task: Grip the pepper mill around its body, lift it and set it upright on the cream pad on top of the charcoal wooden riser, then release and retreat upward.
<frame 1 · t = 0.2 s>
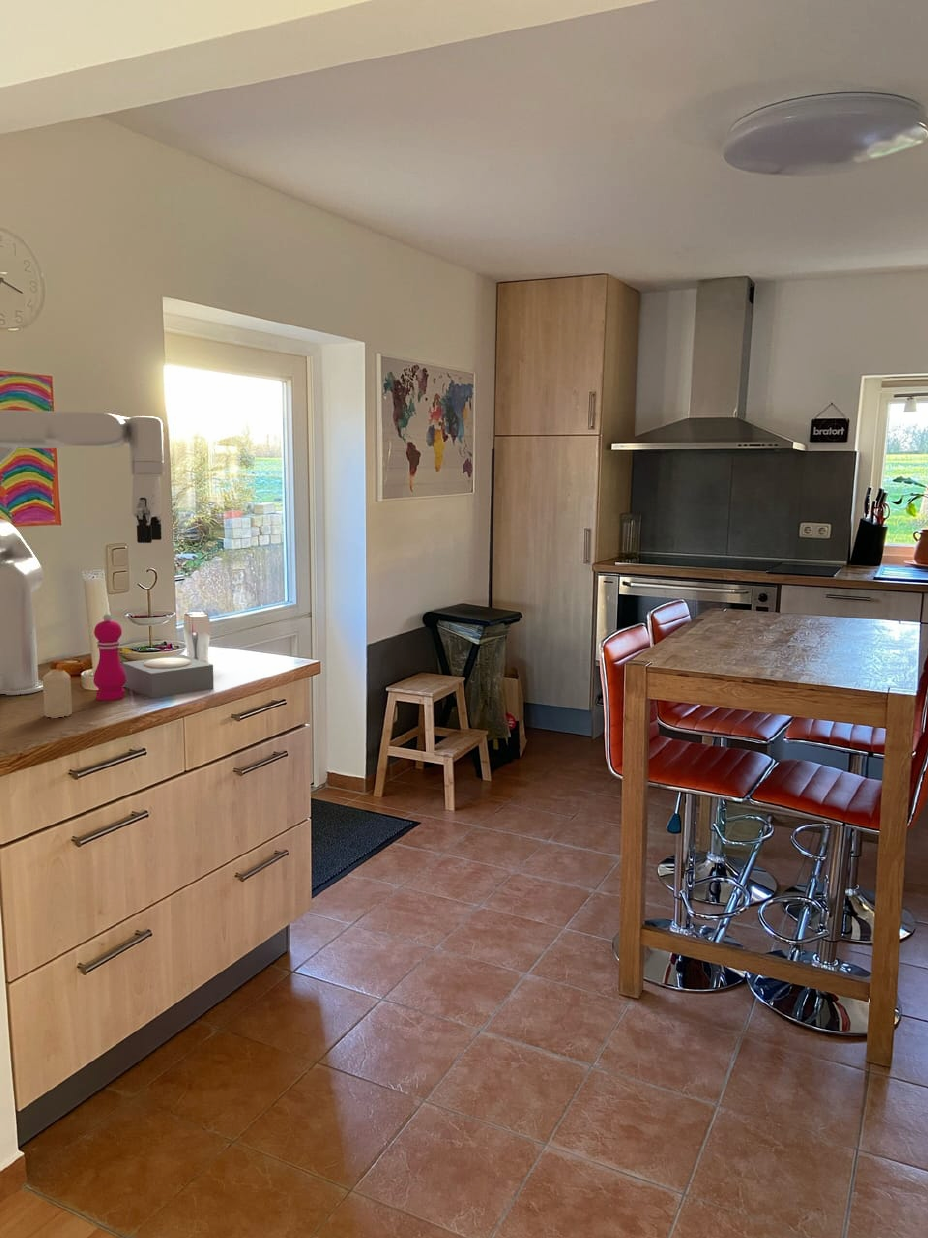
hand: (149, 541, 217), 36 cm above the worktop, tool pointing down, fingers open, 9 cm apart
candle: (58, 716, 197), on the worktop
pepper mill: (110, 698, 213), on the worktop
beer glass: (197, 669, 246), on the worktop
riser: (168, 687, 224), on the worktop
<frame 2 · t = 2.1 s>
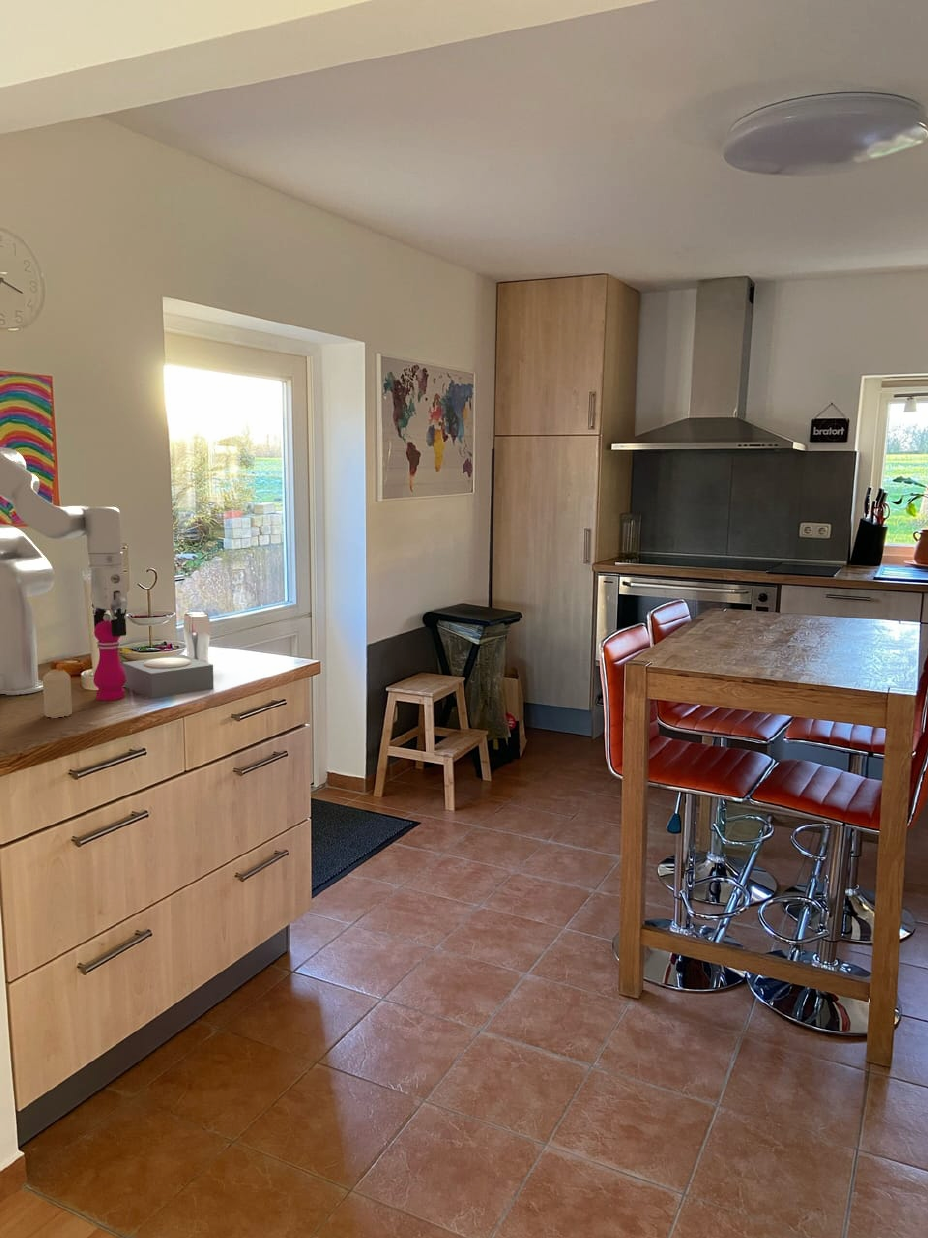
hand: (110, 633, 211), 15 cm above the worktop, tool pointing down, fingers open, 9 cm apart
nothing on the worktop moved.
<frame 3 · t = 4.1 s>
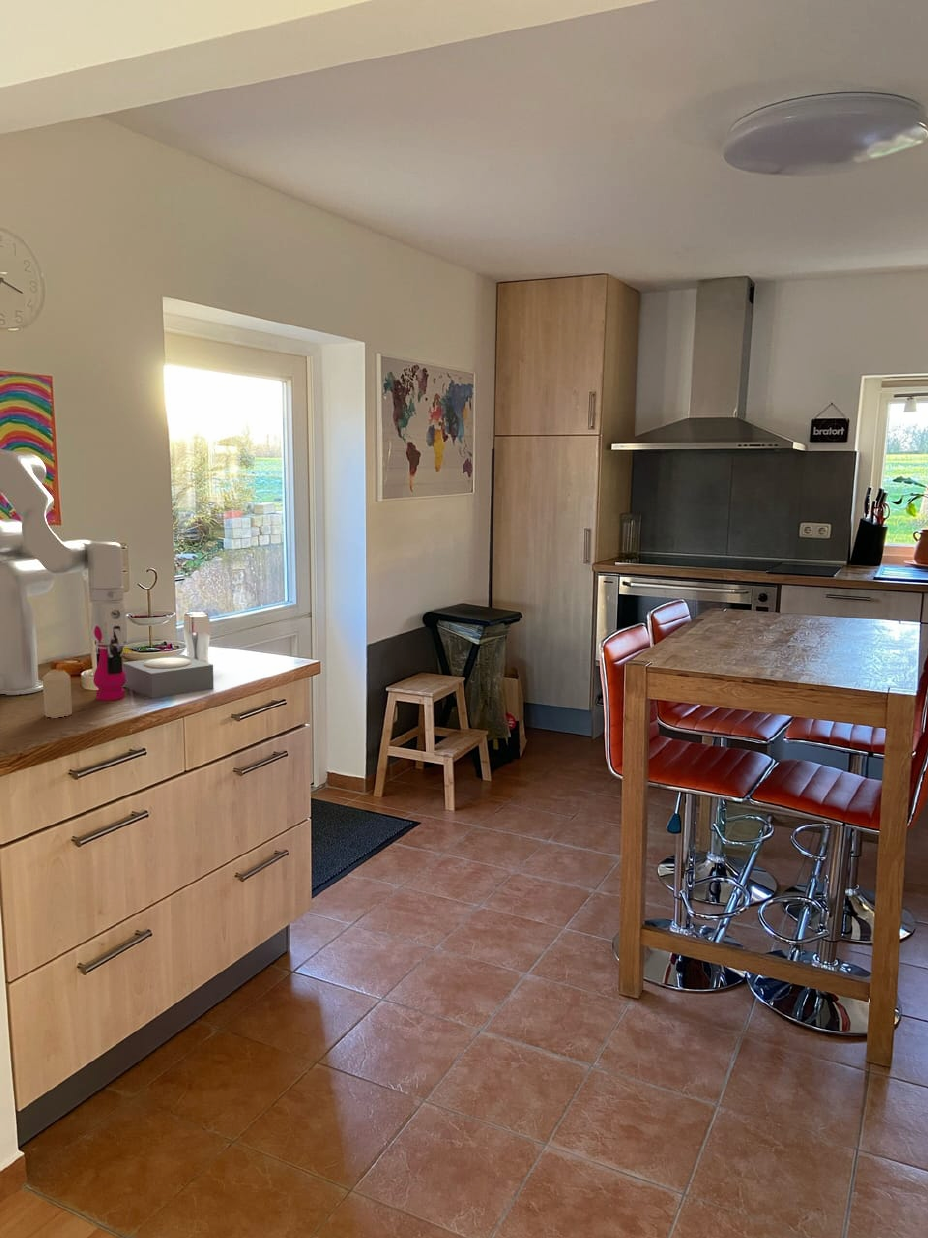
hand: (109, 670, 212), 7 cm above the worktop, tool pointing down, fingers closed on pepper mill, 5 cm apart
pepper mill: (110, 698, 213), on the worktop, touching gripper
everything else where it was.
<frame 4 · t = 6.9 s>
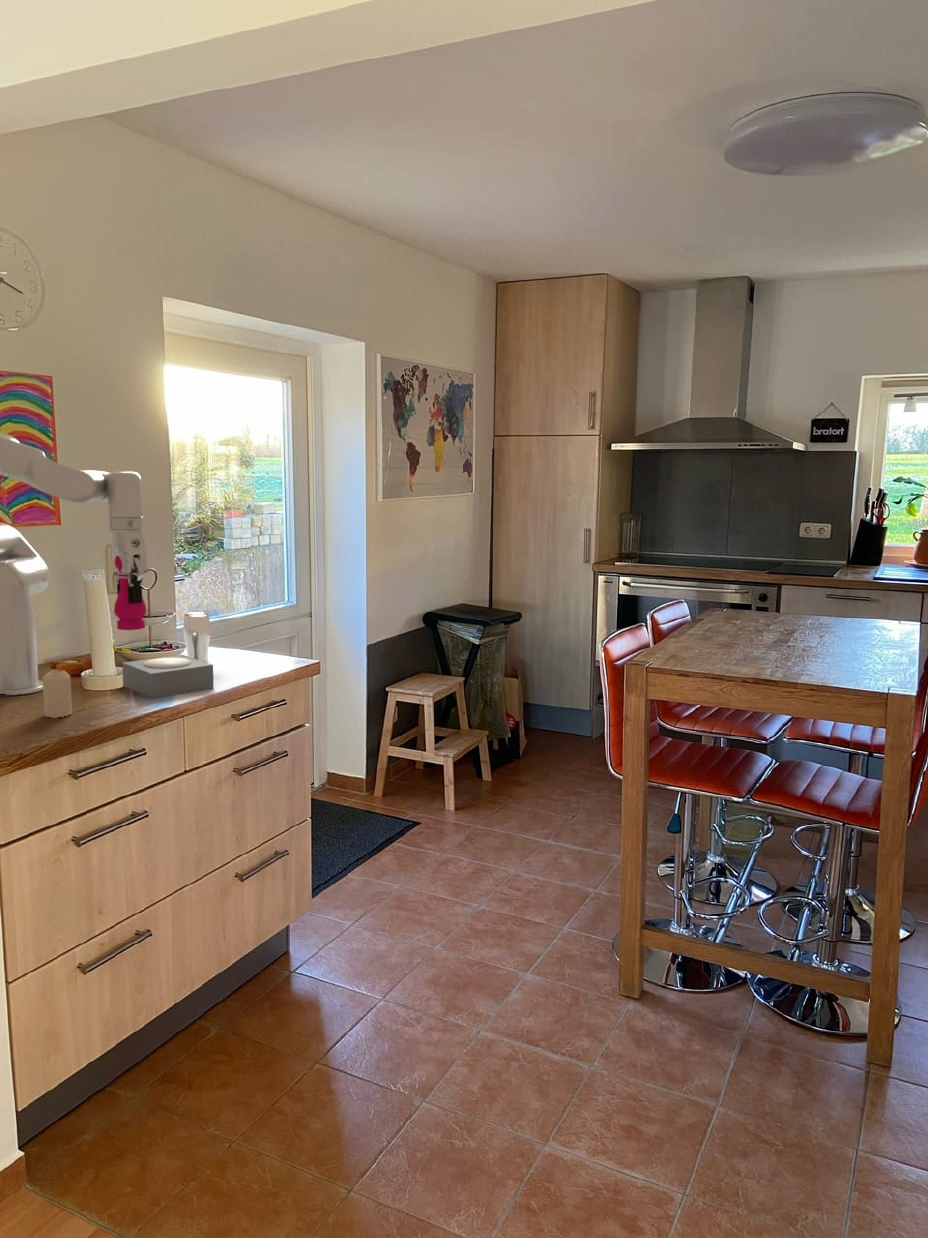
hand: (130, 600, 214), 23 cm above the worktop, tool pointing down, fingers closed on pepper mill, 5 cm apart
pepper mill: (131, 628, 215), point 16 cm above the worktop, touching gripper
everything else where it was.
when the fingers open (14 cm above the worktop, at t = 9.9 s): pepper mill drops 1 cm, resting on riser.
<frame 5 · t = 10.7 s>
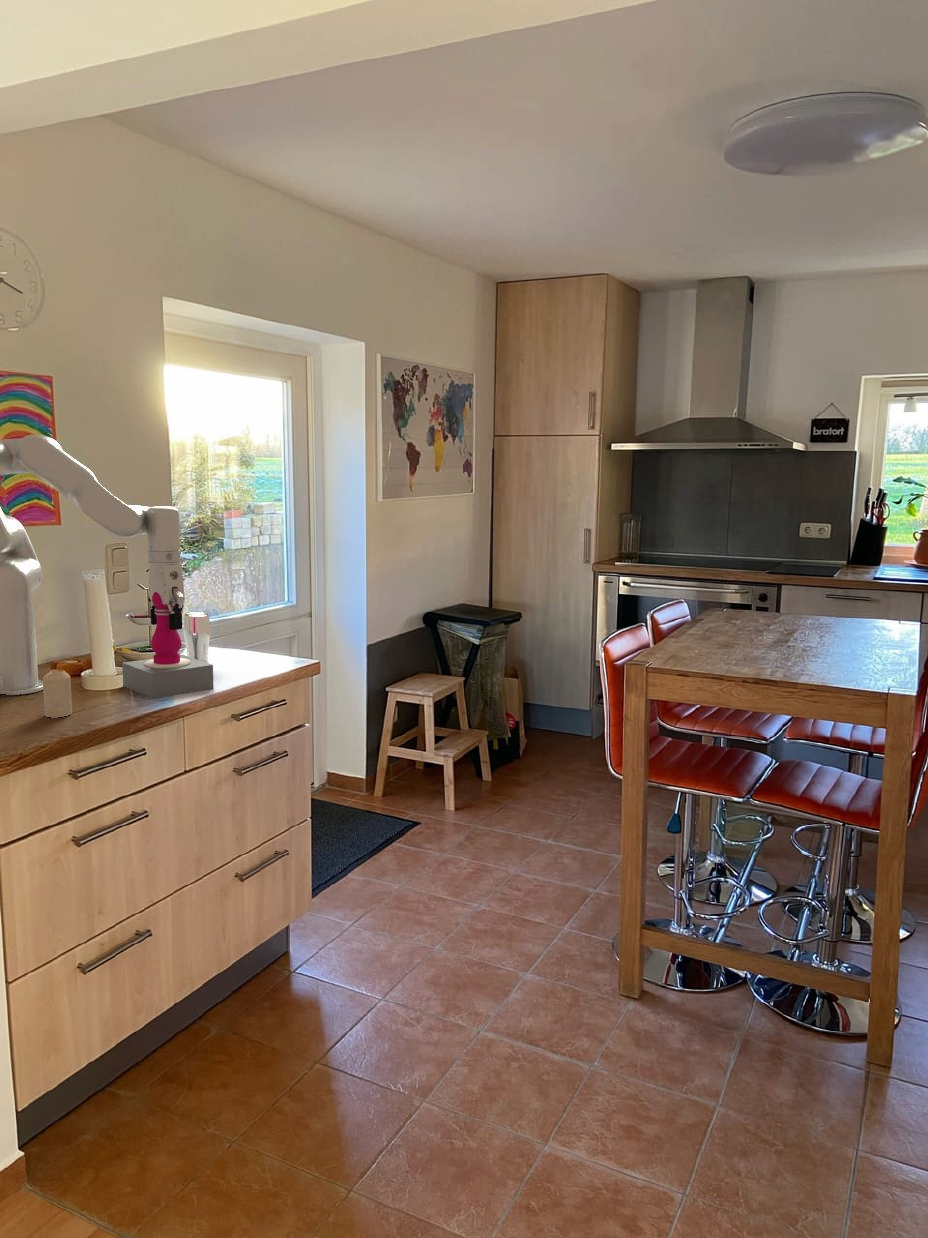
hand: (166, 626, 222), 15 cm above the worktop, tool pointing down, fingers open, 9 cm apart
pepper mill: (166, 662, 223), point 6 cm above the worktop, touching riser
everything else where it was.
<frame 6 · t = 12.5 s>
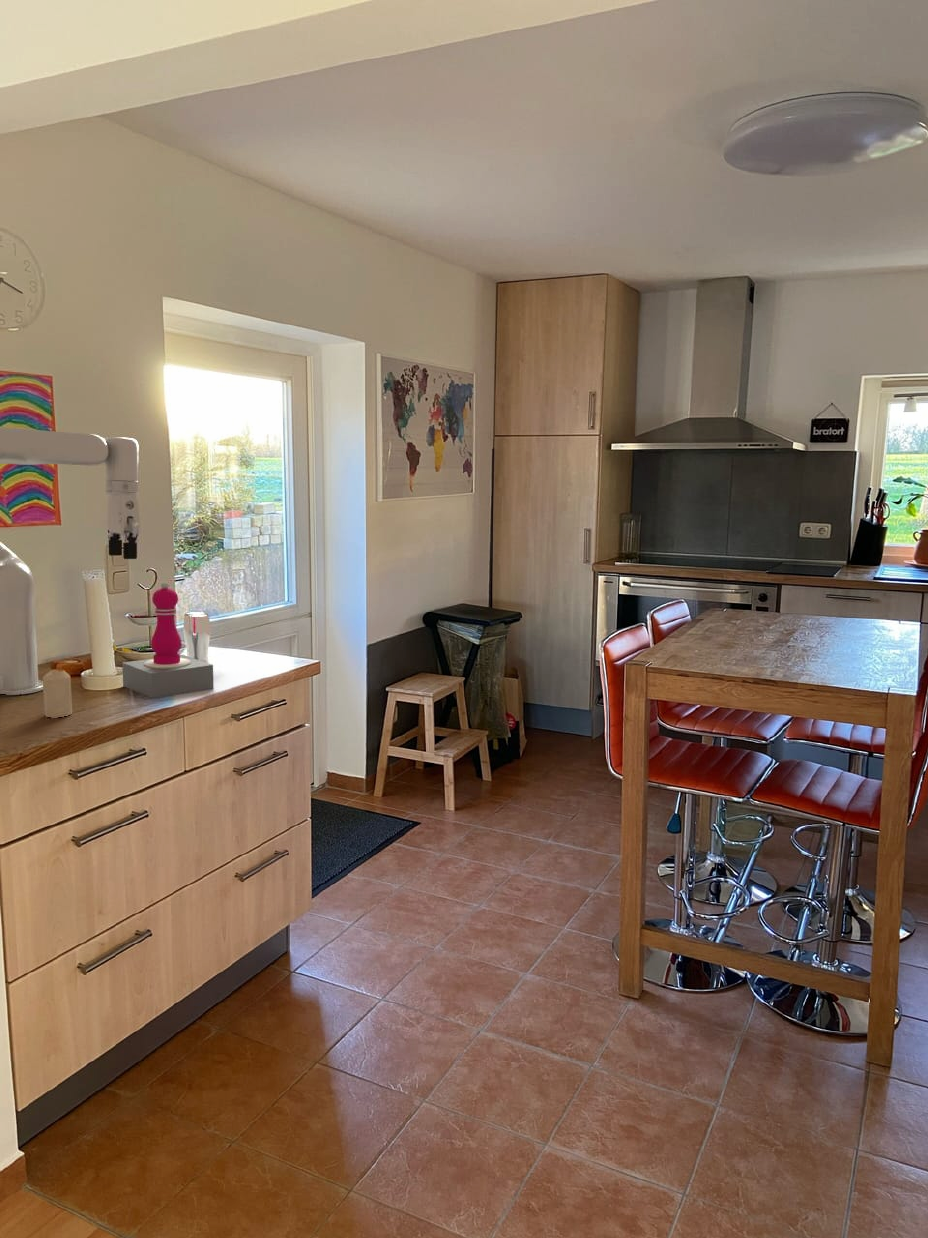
hand: (122, 557, 225), 32 cm above the worktop, tool pointing down, fingers open, 9 cm apart
nothing on the worktop moved.
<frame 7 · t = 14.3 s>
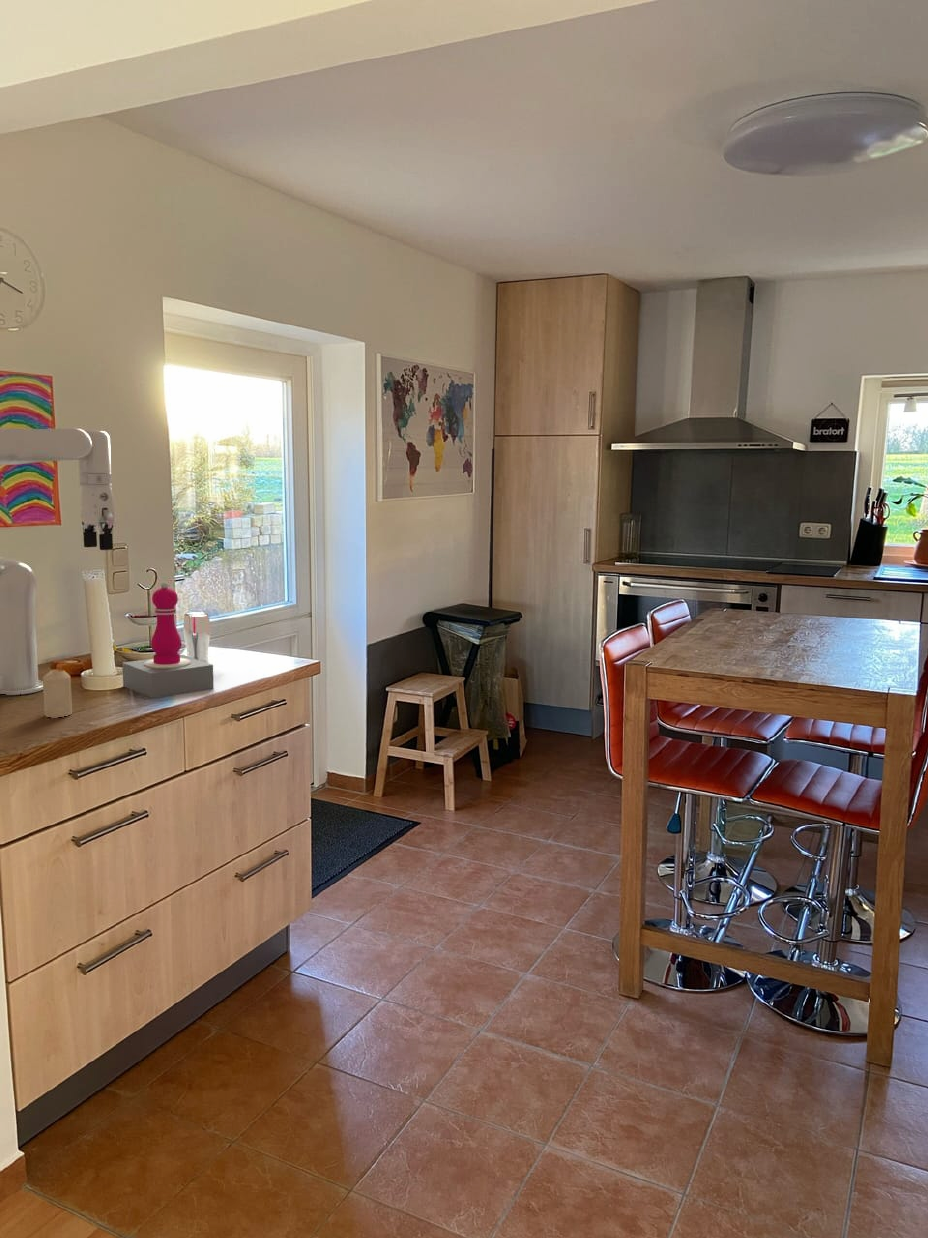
hand: (98, 548, 230), 33 cm above the worktop, tool pointing down, fingers open, 9 cm apart
nothing on the worktop moved.
at the end: pepper mill inside the target area on the riser (0.1 cm from its centre), point 6.2 cm above the riser's base; pepper mill tilted 0°; the gripper is holding nothing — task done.
